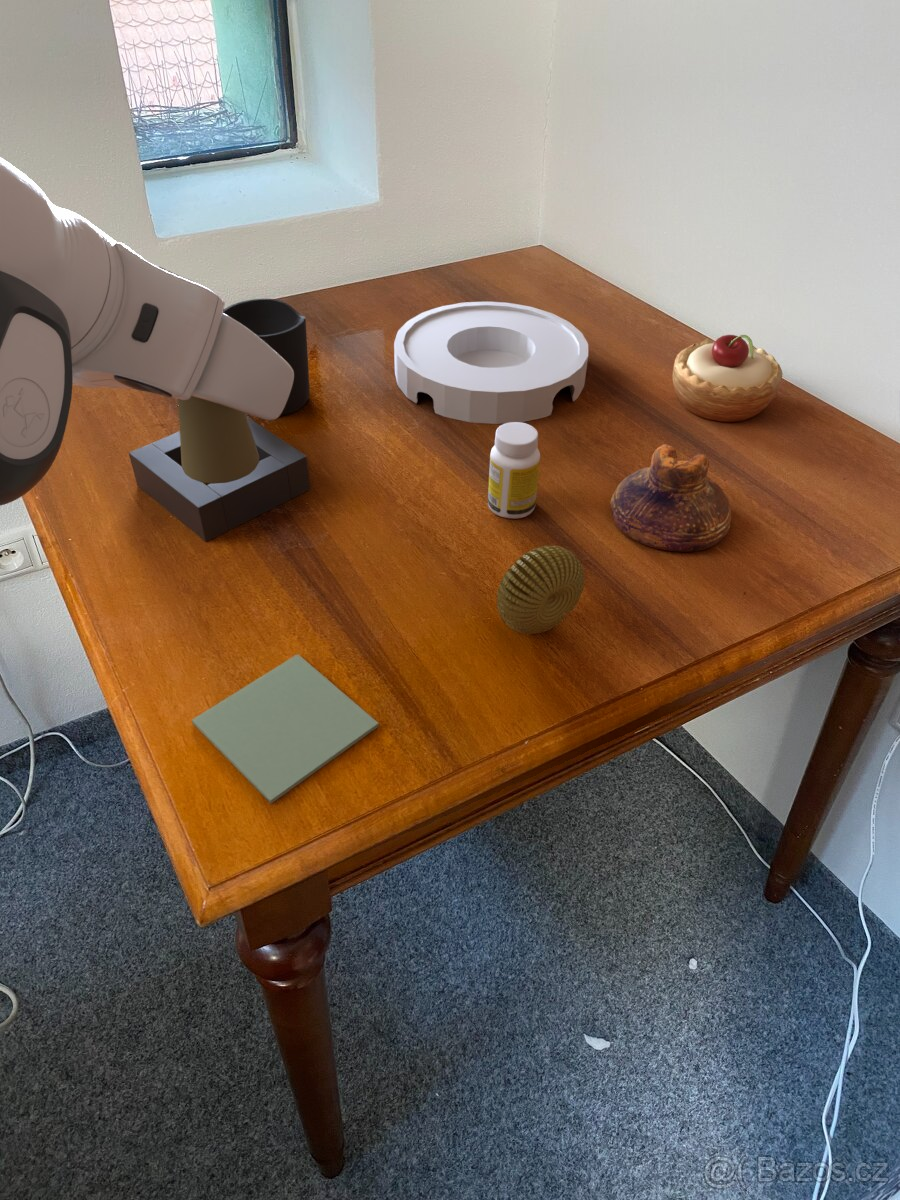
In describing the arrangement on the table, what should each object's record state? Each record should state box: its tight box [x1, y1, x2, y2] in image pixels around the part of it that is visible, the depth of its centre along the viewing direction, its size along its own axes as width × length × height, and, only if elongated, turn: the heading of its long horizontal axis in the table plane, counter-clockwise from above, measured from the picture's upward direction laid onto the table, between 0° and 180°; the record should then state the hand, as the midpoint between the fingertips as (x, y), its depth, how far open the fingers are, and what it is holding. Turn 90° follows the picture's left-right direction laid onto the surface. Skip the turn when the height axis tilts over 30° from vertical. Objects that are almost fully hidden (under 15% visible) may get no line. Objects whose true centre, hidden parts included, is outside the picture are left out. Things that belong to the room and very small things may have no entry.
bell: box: [609, 443, 733, 553], centre depth 84 cm, size 12×12×7 cm
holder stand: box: [128, 416, 311, 543], centre depth 87 cm, size 12×12×4 cm
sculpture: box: [496, 544, 585, 635], centre depth 72 cm, size 8×4×8 cm, turn 123°
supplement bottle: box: [487, 422, 541, 520], centre depth 84 cm, size 5×5×8 cm
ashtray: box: [393, 300, 589, 425], centre depth 106 cm, size 23×23×4 cm
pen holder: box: [223, 298, 310, 417], centre depth 98 cm, size 9×9×10 cm
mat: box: [191, 653, 380, 804], centre depth 66 cm, size 10×10×1 cm
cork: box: [177, 396, 259, 484], centre depth 66 cm, size 6×6×11 cm
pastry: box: [671, 334, 783, 423], centre depth 100 cm, size 12×12×9 cm
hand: (213, 386), depth 66 cm, fingers closed on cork, 5 cm apart
